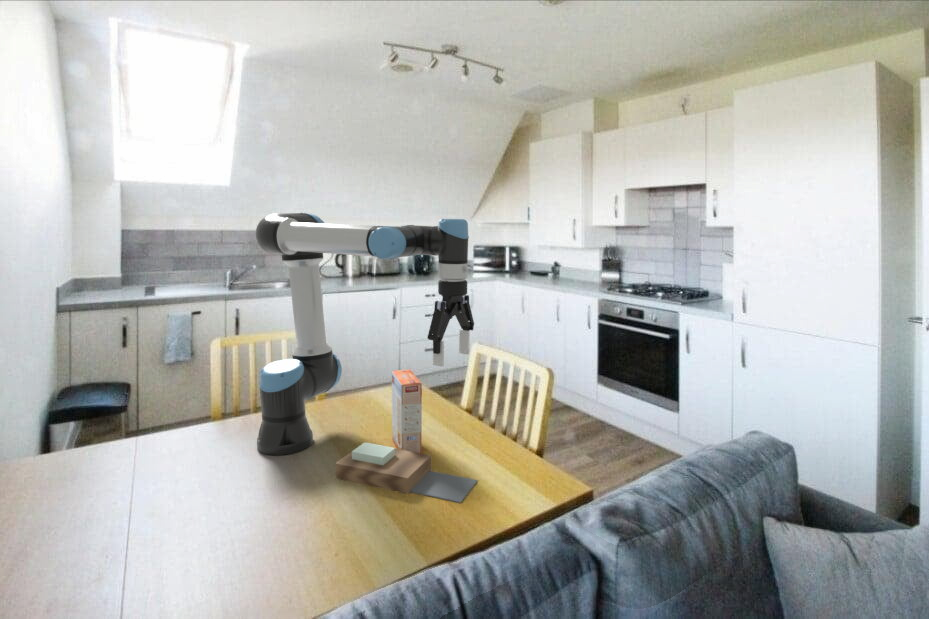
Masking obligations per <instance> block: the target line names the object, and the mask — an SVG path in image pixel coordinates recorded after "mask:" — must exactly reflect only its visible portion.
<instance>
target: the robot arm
mask: <svg viewBox="0 0 929 619" xmlns="http://www.w3.org/2000/svg"><path fill="white" fill-rule="evenodd" d="M469 238H470V236H469V224H468V221H467V220H466V219H465V218H440V219H439V220H438V225H434V226H431V225H415V224H406V225H400V226H398V225H397V226H394V225H393V226H389V225H386V226H385V225H370V224H369V225H366V224H364V225H363V224H349V223H348V224H343V223H325V222H324V220H323V219H321V218H320V217H319V216H318V215H316V214H312V213H306V212H298V213H297V212H296V213H294V212H293V213H291V212H288V213H287V212H284V213H283V212H277V213H270V214H268V215H267V216H264V217H263V218H261V220H259V222H258V224H257V225H256V228H255V239H256V242H257V244H258V245H259V247H260V248H261V249H262V250H263V251H264V252H265V253H267V254H269V255H273V256H281V261H282V262H283V263H284V264H285V266H287V268H288V275H289V286H290V293H291V295H290V296H291V303H292V312H293V313H292V314H293V323H294V331H295V332H294V334H295V340H296V348H295V349H294V350H293V351H292V358H284V359H281V360H279V359H278V360H275V361H271V362H269V363H268V364H266V365H264V366H263V367H262V368H261V370H260V373H259V383H258V385H259V393H260V406H261V424H260V428H259V431H258V436H257V438H256V448H257V450H258V451H259V452H260V453H262V454H265V455H270V456H284V455H285V456H286V455H291V454H295V453H299V452H301V451H303V450H305V449H308V448H309V447H311V445H312V444H313V443H314V433H313V431H312V429H311V427H310V424H309V421H308V418H307V415H306V401H308V400H311V399H312V398H314V397H317V396H319V395H321V394H324V393H327V392H328V391H330V390H331V389H333V388H335V387H336V386H337V384H338V383H339V382H340V380H341V377H342V371H343V368H342V363H341V361H340V359H339V358H338V356H337V355H336V354H335V353H334V352H333V347H331V346H330V345H329V344H328V343H327V337H326V336H327V335H326V326H325V315H324V305H323V304H324V303H323V296H322V295H323V294H322V284H321V275H320V263H321V262H322V261H323V260H324V254H331V255H332V254H333V255H334V254H335V255H350V256H363V257H375V258H378V259H381V260H394V259H397V258H403V257H404V258H405V257H411V256H438V273H437V277H438V279H439V280H438V284H437V285H438V286H437V290H438V291H437V293H438V294H439V295H440V296H441V297H442V299H441V301H440V300H435V302H434V310H433V314H432V318H431V322H430V327H429V330H428V334H427V340H429V341H432V346H433V347H432V349H433V350H432V362H433V363H432V365H433V366H436V367H444V365H445V359H444V358H445V355H444V354H445V341H444V340H443V338H444V335H445V333H446V331H447V328H448V325H449V323H450V320H451V319H453V317H455V318H456V320H457V321H458V324H459V327H460V328H461V329H460V330H459V337H458V338H459V340H458V341H459V342H458V343H459V345H458V346H459V347H458V348H459V350H458V353H459V354H463V355H469V354H470V334H471V331H474V326H475V322H474V318H473V313H472V308H471V304H470V295H469V294H468V281H467V280H466V279H467V278H468V272H469V267H468V262H469V261H468V258H469V257H468V256H469Z"/></svg>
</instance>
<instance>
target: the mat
mask: <svg viewBox="0 0 929 619" xmlns="http://www.w3.org/2000/svg"><path fill="white" fill-rule="evenodd" d="M477 483H478V479H474V478H468V477H465V476H460V475H455V474H448V473H443V472H439V471H435V470H434V471H433V470H431V471H429V472H428V473H427V474H426V475H425V476H424V477H423V478H422V479H421V480H420V481H419V482H418V483H417V484H416V485H415V486H414V487H413V488H412V489H411V490H410V492H409V493H413V494H417V495H421V496H426V497H431V498H436V499H439V500H446V501H448V502H449V501H450V502H453V503H454V502H455V503H457V504H458V503H459V504H462V503H463V501H464V500H465V498H466V497H467V496H468V494H469V493H470V492H471V490H472V489H473V488H474V487H475V486H476V484H477Z"/></svg>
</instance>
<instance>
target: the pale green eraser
mask: <svg viewBox="0 0 929 619" xmlns="http://www.w3.org/2000/svg"><path fill="white" fill-rule="evenodd" d="M354 449H355V450H354ZM354 449H353V450H351V452H352V459H354V460H359V461H364V462H369V463H374V464H379V465H384V464H386V463H387V462H388V461H389V460H390V459H391V458H393V457H394V456H395V449H396V448H395V447H391V446H386V445H381V444H375V443H371V442H363V443H362V445H361V444H360V445H359V446H357V447H356V448H354Z"/></svg>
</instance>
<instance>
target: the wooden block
mask: <svg viewBox="0 0 929 619" xmlns="http://www.w3.org/2000/svg"><path fill="white" fill-rule="evenodd" d="M362 444H363V443H362ZM362 444H360V445H362ZM355 449H356V448H354V449H353V450H355ZM334 467H335V479H338V480H341V481H342V480H343V481H347V482H350V483H355V484H361V485H365V486H369V487H373V488H378V489H382V490H387V491H392V492H397V493H401V494H405V495H409V494H410V493H411V492H410V490H411V489H412V488H413V487H414V486H415V485H416V484H417V483H418V482H419V481H420V480H421V479H422V478H423V477H424V476H425V475H426V474H427V473H428V472H429V471H432V454H427V453H422V454H421V453H416V452H411V451H405V450H400V449H397V448H395V456H394V457H393V458H391V459H390V460H389V461H388V462H387V463H386V464H384V465H379V464H374V463H369V462H364V461H359V460H354V459H352V451H350V452H349V453H347V454H346V455H345V456H343V457H341V458H340V459H339V460H337V461H336V462H335V466H334Z"/></svg>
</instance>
